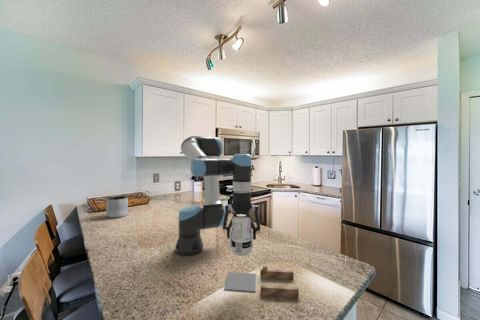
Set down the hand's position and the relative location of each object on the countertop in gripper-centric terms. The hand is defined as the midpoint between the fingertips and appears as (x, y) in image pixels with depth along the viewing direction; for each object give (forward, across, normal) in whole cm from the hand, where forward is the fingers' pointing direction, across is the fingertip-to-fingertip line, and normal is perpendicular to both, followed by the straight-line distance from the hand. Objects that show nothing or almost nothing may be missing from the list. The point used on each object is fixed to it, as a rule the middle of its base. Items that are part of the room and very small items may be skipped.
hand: (241, 246), depth 87 cm
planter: (+15, -113, +83) cm, 141 cm away
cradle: (+15, +15, -1) cm, 21 cm away
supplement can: (+2, 0, 0) cm, 2 cm away
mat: (+15, 0, 0) cm, 15 cm away
